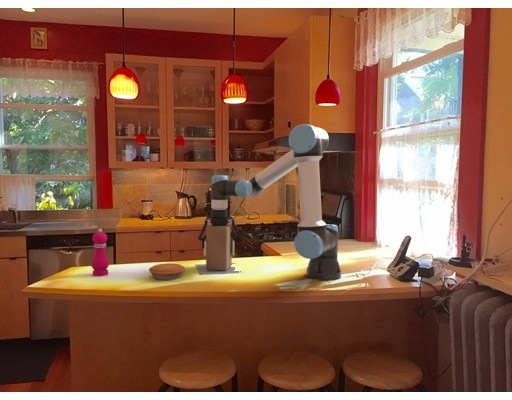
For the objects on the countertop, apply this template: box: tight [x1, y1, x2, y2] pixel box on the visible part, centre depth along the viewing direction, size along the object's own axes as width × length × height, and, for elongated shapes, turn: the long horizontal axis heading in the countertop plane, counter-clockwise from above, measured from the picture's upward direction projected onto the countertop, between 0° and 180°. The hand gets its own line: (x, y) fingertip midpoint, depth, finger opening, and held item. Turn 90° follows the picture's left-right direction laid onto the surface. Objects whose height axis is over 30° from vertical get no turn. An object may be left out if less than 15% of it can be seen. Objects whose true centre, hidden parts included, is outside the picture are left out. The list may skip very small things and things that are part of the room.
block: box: [205, 224, 233, 271], centre depth 197 cm, size 10×10×20 cm
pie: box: [148, 263, 186, 281], centre depth 182 cm, size 16×16×5 cm
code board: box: [195, 262, 240, 276], centre depth 198 cm, size 20×20×1 cm
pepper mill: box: [90, 228, 110, 277], centre depth 183 cm, size 7×7×20 cm
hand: (219, 254), depth 198 cm, fingers closed on block, 12 cm apart
